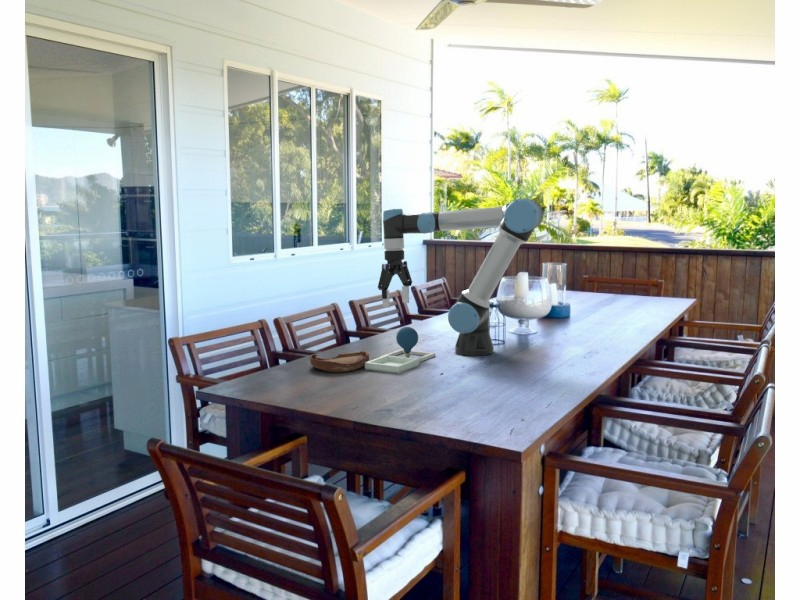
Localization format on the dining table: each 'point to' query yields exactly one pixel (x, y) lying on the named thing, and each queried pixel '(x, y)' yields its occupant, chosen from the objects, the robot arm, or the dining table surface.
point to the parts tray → (392, 364)
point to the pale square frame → (425, 354)
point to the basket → (341, 362)
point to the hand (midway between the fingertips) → (396, 305)
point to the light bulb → (407, 339)
